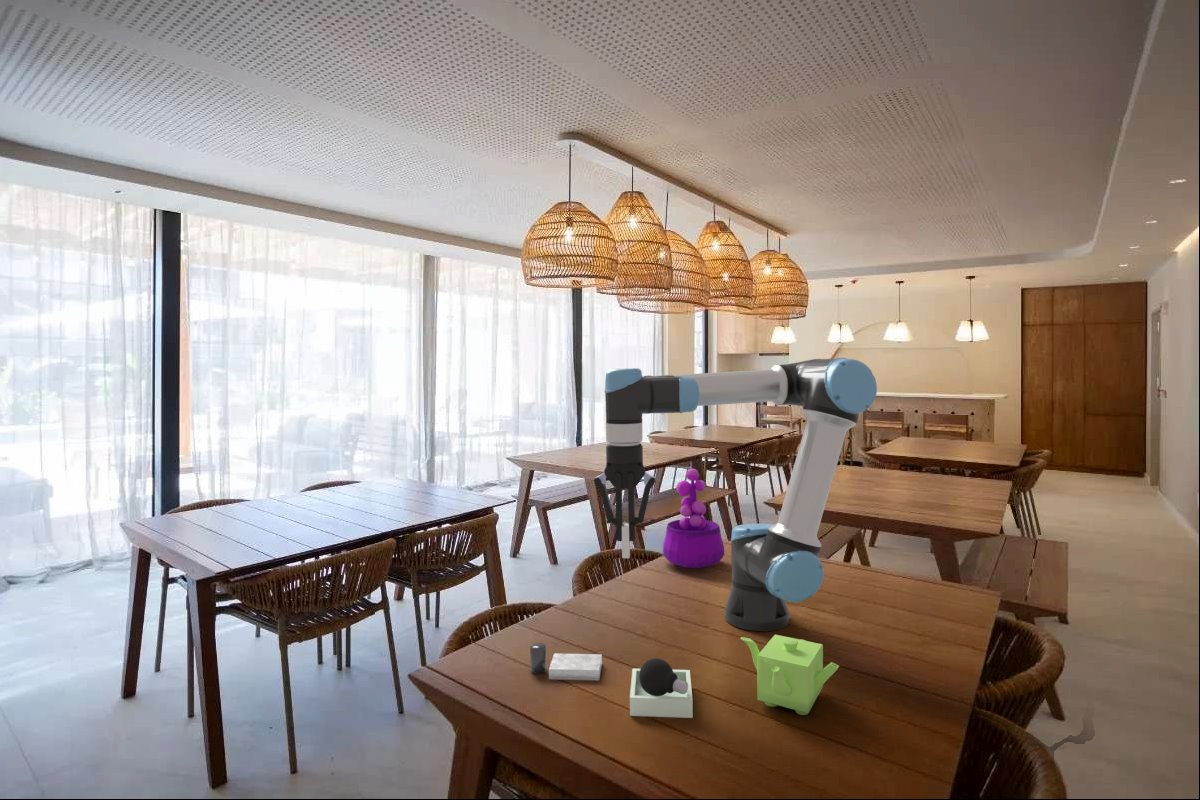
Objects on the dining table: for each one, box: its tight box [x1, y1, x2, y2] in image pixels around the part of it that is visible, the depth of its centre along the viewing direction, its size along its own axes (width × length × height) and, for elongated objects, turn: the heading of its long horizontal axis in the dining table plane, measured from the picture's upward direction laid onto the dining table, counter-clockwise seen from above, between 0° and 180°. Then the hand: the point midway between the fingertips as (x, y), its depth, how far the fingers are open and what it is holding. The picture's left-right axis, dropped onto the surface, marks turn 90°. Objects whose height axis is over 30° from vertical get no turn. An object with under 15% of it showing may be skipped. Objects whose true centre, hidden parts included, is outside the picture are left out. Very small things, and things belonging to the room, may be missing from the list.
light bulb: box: [639, 658, 688, 696], centre depth 117 cm, size 6×6×10 cm
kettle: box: [740, 634, 840, 716], centre depth 118 cm, size 15×14×11 cm
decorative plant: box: [662, 468, 725, 569], centre depth 198 cm, size 19×18×30 cm
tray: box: [629, 668, 694, 719], centre depth 119 cm, size 11×11×3 cm
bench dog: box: [529, 642, 547, 675], centre depth 132 cm, size 3×3×5 cm
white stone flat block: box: [548, 652, 603, 681], centre depth 131 cm, size 10×7×2 cm
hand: (626, 556), depth 134 cm, fingers closed
